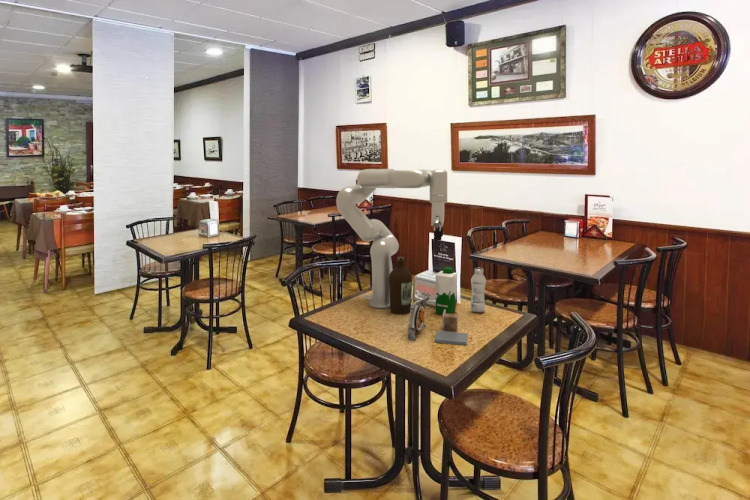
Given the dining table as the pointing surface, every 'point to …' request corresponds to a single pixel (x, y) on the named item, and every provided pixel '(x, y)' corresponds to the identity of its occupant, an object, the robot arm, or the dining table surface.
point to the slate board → (451, 337)
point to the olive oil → (400, 288)
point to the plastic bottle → (478, 291)
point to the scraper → (449, 322)
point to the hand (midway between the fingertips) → (438, 238)
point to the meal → (416, 318)
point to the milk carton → (446, 291)
